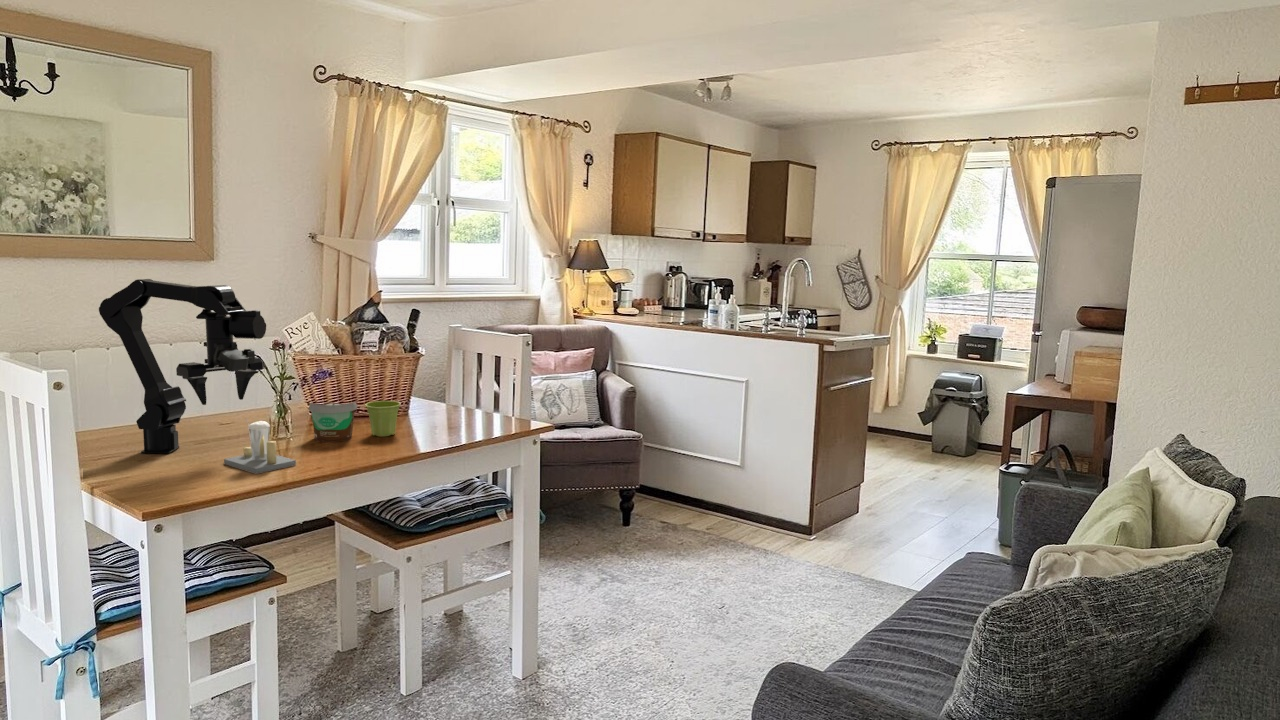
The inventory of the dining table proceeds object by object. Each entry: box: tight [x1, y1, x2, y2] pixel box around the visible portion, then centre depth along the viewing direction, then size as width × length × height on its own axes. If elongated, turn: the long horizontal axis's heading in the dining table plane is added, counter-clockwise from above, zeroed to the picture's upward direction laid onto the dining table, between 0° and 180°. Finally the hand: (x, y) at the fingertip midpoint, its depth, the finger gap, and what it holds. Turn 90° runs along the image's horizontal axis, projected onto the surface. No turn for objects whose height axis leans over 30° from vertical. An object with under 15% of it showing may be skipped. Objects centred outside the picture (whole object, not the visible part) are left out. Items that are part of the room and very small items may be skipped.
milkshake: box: [244, 417, 271, 461], centre depth 193 cm, size 5×5×10 cm
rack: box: [223, 440, 297, 475], centre depth 194 cm, size 13×10×6 cm
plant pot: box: [364, 400, 402, 438], centre depth 228 cm, size 9×9×9 cm
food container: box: [308, 401, 358, 443], centre depth 220 cm, size 12×6×10 cm, turn 105°
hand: (222, 402), depth 200 cm, fingers open, 9 cm apart
